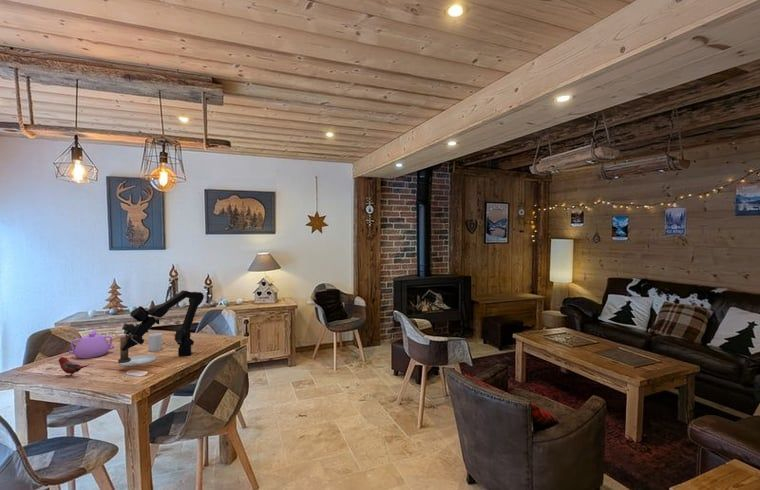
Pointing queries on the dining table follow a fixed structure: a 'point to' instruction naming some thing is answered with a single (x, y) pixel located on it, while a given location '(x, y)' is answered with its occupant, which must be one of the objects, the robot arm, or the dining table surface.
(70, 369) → the decorative bird figurine
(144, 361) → the white smooth round part
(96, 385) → the dining table surface
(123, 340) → the brown tapered knob
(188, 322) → the robot arm
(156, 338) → the white cup
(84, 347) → the teapot
